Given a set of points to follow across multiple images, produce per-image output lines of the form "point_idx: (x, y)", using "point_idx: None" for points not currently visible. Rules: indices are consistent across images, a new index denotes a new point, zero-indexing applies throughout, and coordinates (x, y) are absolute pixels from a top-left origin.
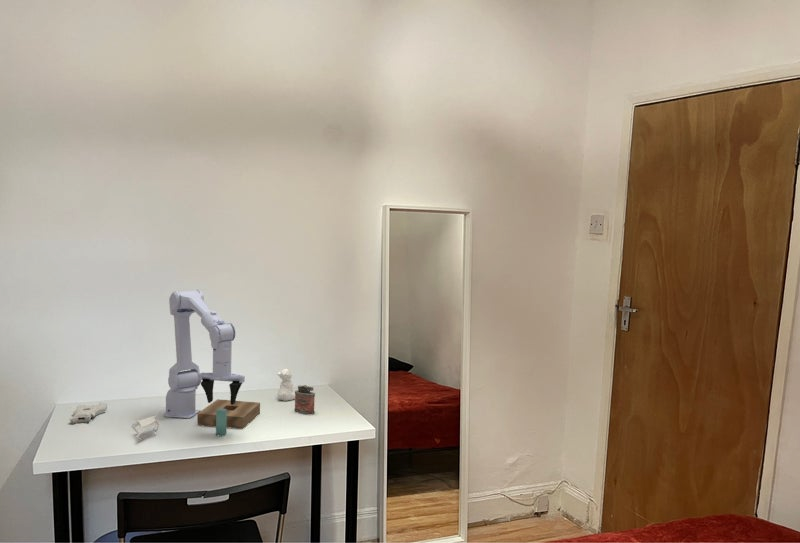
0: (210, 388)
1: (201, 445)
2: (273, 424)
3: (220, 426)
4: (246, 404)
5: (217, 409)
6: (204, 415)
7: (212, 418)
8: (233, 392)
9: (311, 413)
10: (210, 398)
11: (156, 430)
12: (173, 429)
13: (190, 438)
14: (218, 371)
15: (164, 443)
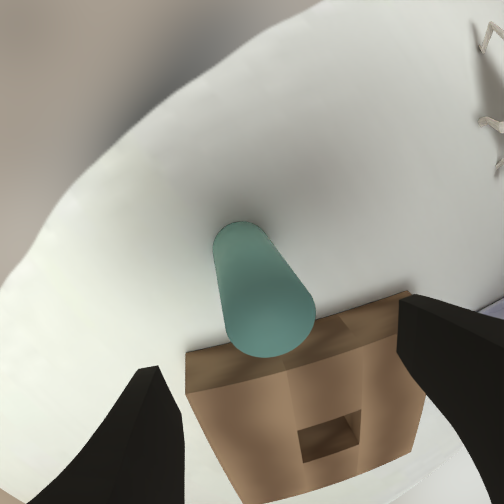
0: (497, 411)
1: (238, 65)
2: None
3: (234, 241)
4: (284, 483)
5: (313, 316)
6: None
7: (359, 332)
8: (68, 482)
9: None
10: (422, 335)
11: (491, 121)
12: (461, 204)
13: (351, 130)
14: None
15: (409, 44)
